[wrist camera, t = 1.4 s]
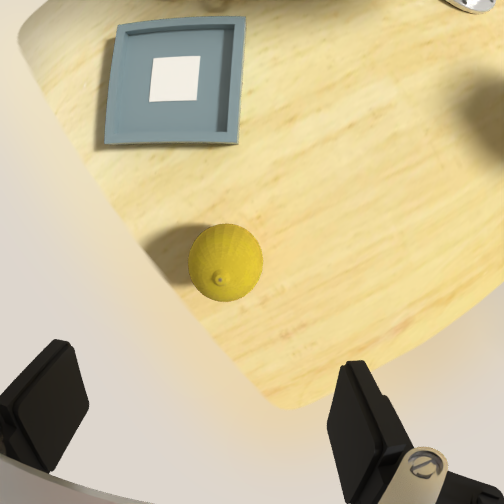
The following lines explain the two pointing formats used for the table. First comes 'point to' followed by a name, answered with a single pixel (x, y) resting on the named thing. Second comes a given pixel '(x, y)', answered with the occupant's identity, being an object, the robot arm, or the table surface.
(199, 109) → the tray
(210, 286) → the lemon
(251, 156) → the table surface
